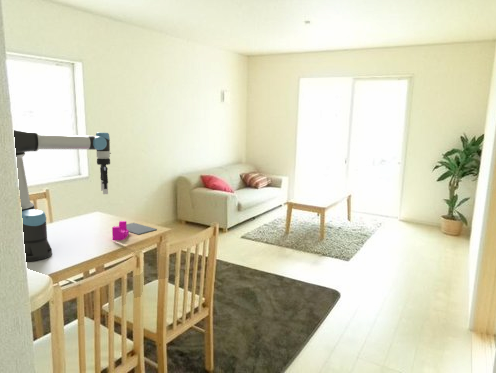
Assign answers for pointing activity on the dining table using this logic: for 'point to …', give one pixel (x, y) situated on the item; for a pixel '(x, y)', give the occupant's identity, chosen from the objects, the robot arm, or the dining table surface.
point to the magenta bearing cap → (120, 231)
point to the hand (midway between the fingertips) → (104, 192)
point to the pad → (139, 228)
